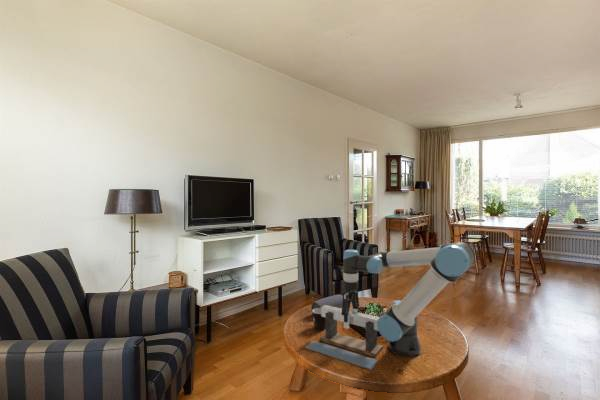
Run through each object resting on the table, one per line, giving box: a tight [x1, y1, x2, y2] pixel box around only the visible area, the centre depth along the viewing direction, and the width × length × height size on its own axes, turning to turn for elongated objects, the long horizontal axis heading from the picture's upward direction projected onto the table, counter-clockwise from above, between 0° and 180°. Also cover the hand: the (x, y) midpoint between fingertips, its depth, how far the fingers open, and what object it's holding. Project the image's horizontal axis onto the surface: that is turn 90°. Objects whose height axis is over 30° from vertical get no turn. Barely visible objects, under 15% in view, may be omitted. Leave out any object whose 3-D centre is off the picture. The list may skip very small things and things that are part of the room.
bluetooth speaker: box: [310, 294, 343, 311], centre depth 199 cm, size 23×9×10 cm, turn 130°
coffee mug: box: [311, 308, 326, 332], centre depth 177 cm, size 12×9×10 cm
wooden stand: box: [319, 313, 384, 358], centre depth 157 cm, size 30×10×14 cm, turn 56°
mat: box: [304, 340, 378, 371], centre depth 147 cm, size 34×8×1 cm, turn 56°
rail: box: [321, 305, 381, 332], centre depth 157 cm, size 32×4×5 cm, turn 56°
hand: (350, 324), depth 157 cm, fingers open, 9 cm apart
